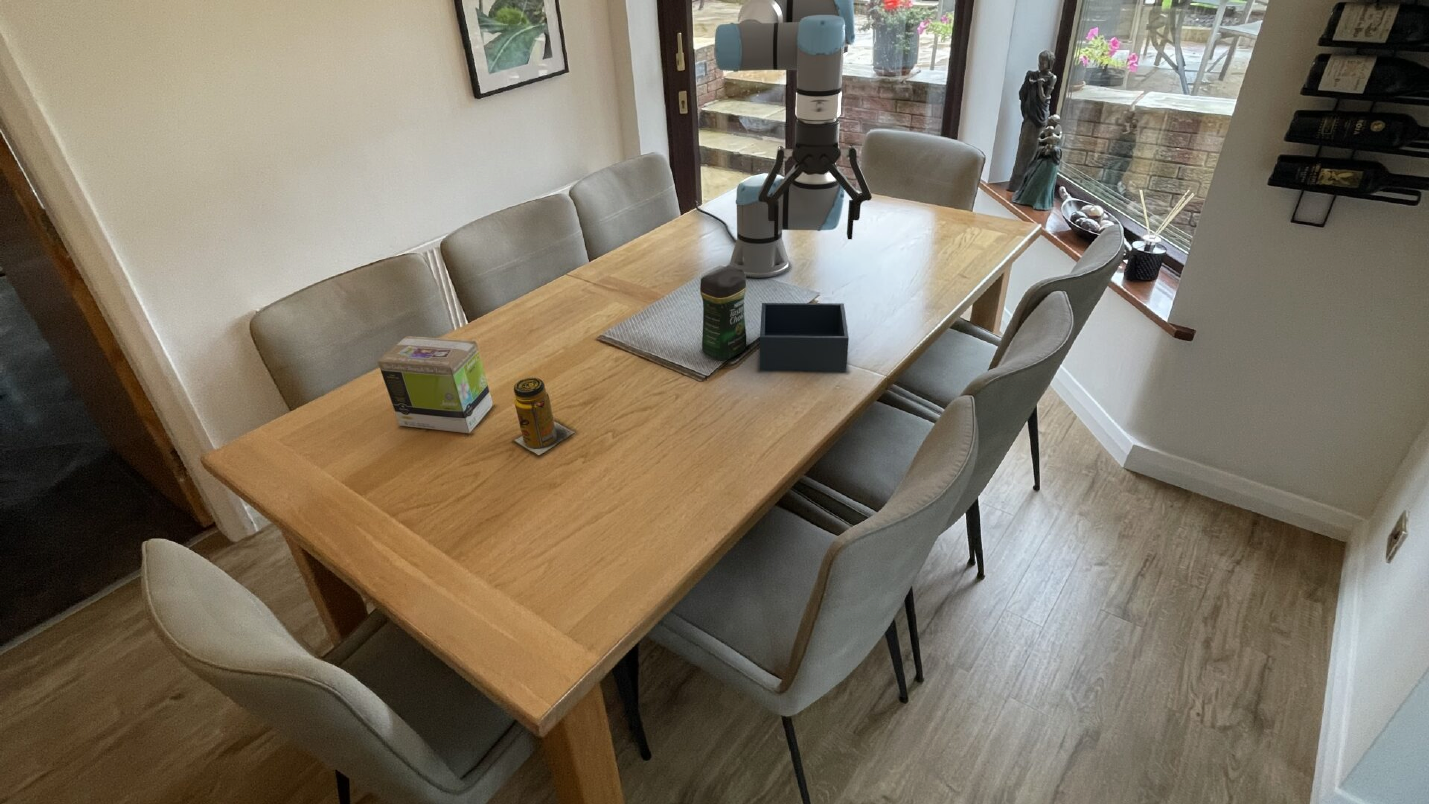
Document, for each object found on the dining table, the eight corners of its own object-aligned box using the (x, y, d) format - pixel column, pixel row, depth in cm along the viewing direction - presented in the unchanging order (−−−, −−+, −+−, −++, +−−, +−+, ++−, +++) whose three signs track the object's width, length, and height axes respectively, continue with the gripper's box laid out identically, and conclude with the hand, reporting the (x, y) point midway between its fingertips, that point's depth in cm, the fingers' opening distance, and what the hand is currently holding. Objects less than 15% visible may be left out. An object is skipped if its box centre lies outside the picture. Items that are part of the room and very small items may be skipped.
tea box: (494, 405, 143) (478, 339, 135) (469, 435, 135) (450, 367, 127) (426, 397, 146) (406, 333, 138) (397, 427, 138) (374, 360, 130)
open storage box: (761, 335, 162) (761, 302, 158) (841, 335, 161) (843, 303, 156) (759, 371, 150) (759, 337, 146) (846, 372, 149) (848, 338, 144)
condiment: (513, 441, 133) (500, 386, 126) (550, 419, 138) (539, 365, 132) (539, 456, 129) (526, 400, 122) (575, 433, 135) (565, 378, 128)
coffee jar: (724, 365, 152) (721, 284, 142) (696, 353, 157) (692, 274, 146) (753, 347, 158) (753, 268, 148) (726, 336, 163) (723, 258, 152)
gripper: (743, 125, 122) (745, 245, 134) (895, 122, 120) (882, 244, 132) (745, 114, 128) (746, 229, 140) (889, 111, 126) (877, 228, 138)
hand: (812, 237), depth 136 cm, fingers open, 13 cm apart
